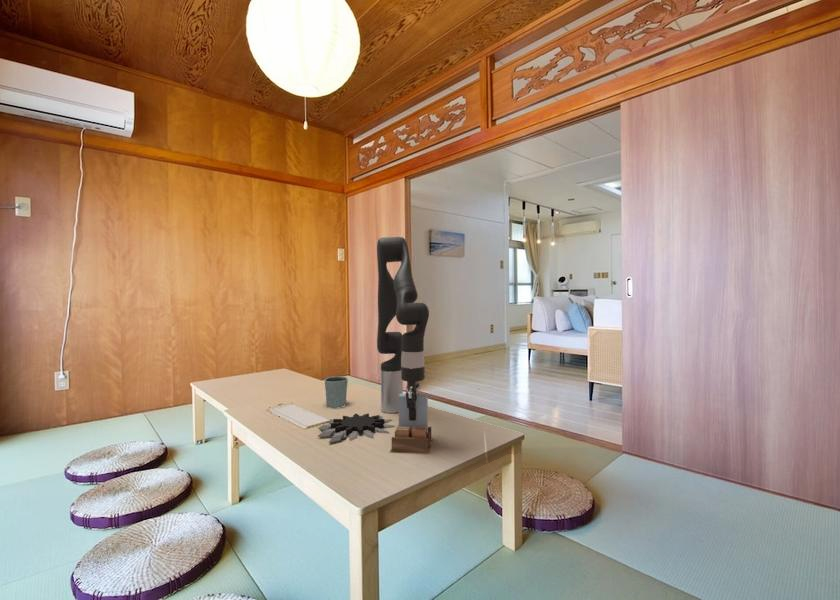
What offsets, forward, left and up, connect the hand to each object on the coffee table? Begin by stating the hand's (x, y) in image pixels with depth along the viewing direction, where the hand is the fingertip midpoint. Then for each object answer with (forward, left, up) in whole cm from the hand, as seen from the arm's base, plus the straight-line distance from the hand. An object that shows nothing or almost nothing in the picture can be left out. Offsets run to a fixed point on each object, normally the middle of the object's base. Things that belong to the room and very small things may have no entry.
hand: (413, 418), depth 123 cm
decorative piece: (-12, -22, -10) cm, 27 cm away
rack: (+3, 0, -9) cm, 10 cm away
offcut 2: (+5, +2, -8) cm, 9 cm away
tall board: (0, 0, -8) cm, 8 cm away
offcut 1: (+5, -3, -8) cm, 9 cm away
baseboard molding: (-24, -52, -10) cm, 58 cm away
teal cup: (-42, -41, -9) cm, 59 cm away
